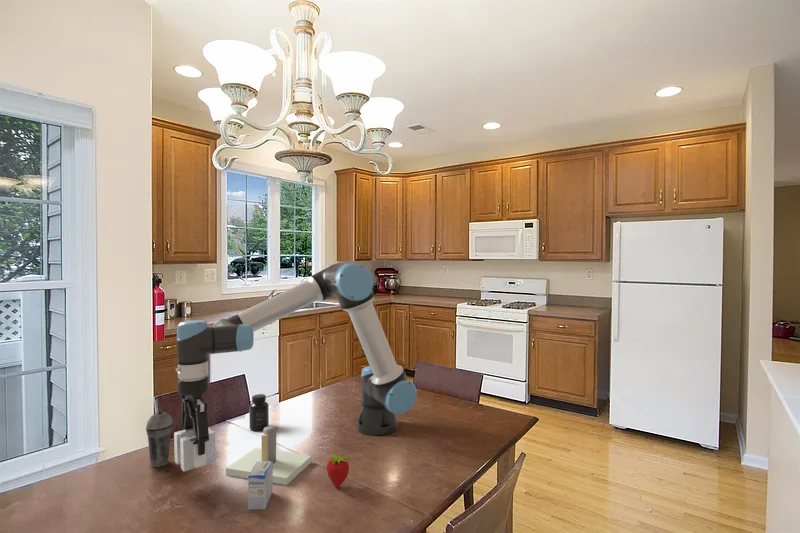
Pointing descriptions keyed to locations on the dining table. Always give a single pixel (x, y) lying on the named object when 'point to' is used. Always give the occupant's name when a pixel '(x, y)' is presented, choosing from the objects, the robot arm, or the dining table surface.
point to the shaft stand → (283, 462)
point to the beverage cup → (159, 437)
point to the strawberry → (337, 470)
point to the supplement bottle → (259, 413)
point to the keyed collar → (191, 448)
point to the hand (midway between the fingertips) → (195, 460)
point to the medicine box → (260, 485)
